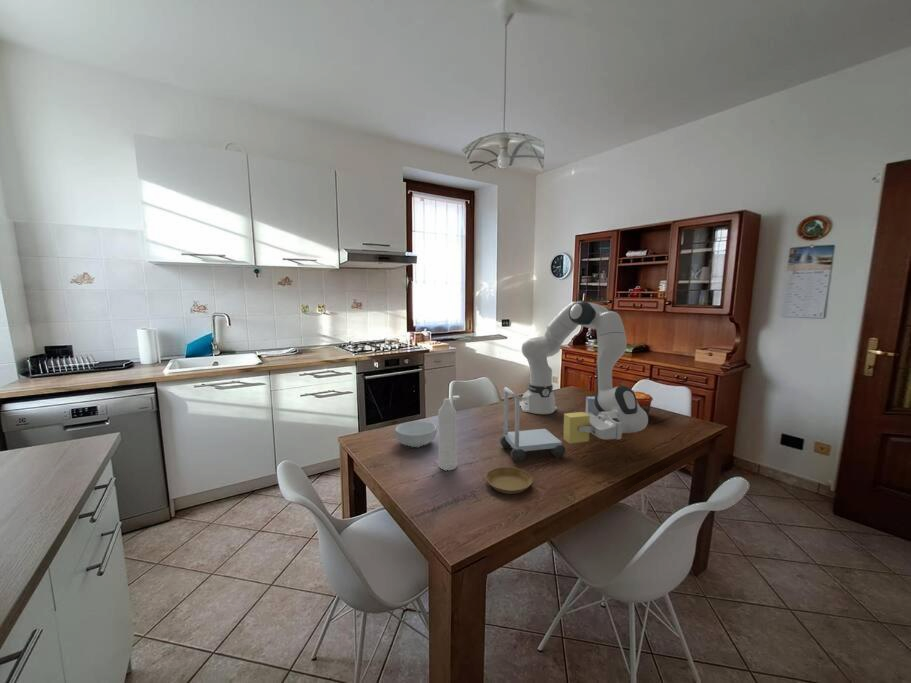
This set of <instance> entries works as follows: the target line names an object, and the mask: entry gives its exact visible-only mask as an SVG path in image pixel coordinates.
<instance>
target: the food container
mask: <svg viewBox="0 0 911 683" xmlns="http://www.w3.org/2000/svg"><path fill="white" fill-rule="evenodd" d="M633 392H634V393H635V395H636V400H637V402H638V404H639V406H640V407H641V408H642V409H643V410H644V411H645V412H646V414H647V416H648V417H649V415H650V409H651V406H652V401H653V400H654V399H653V396H651V395H650V394H648V393H645V392H642V391H634V390H633Z"/></svg>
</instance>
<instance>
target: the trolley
mask: <svg viewBox="0 0 911 683" xmlns="http://www.w3.org/2000/svg"><path fill="white" fill-rule="evenodd" d="M509 396H511V397H512V398H513V399H514V431H509V428H508V426H509V425H508V424H509ZM520 401H521V396H519V395H518V394H517V393H515V392H514V391H512V390H511V389H510V388H508V387H507V386H504V388H503V435H502V436H501V437H500V440H499V442H500V445H501V446H502V447H503V448H504V449H506V448H508V449H510V448H512V449H511V451H510V456H511V459H513V461H514V462H516V463H520V462H522V461H524V460H525V458H526V452H529V451H531V452H532V451H538V450H549V449H550V453H551V455H553V456H554V457H555V458H558V459H560V458H562V457H564V456H565V454H566V448H565V446H564V445H563V441H562V440H560V439H559V438H557V436H555V435H553V434H552V433H551V432H550V431H549V430H547V429H546V428H538V429H537V428H536V429H528V430H520V410H521V409H520V408H521V407H520Z"/></svg>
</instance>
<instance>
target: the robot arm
mask: <svg viewBox="0 0 911 683" xmlns="http://www.w3.org/2000/svg"><path fill="white" fill-rule="evenodd" d="M578 326H582V327H583V328H589V329H595V331H596V332H595V333H596V338H597V340H596V341H597V357H596V364H595V365H596V366H595V368H596V369H595V371H596V377H595V378H596V392H595V395H594V397H595V400H594V402H595V406H596V408H597V409H598V411H599V412H600V413H599V414H598V415H594V414H592V413H589V412H586V411H584V413H586V414H588V415H589V416H590V423H589V426H578V429H577V430H578V431H579V432H588V433H589V434H592V435H593V436H595V437H597V438H598V439H601V440H621V439H622V435H623V434H630V433H632V434H633V433H637V432H641V431H643V430H644V429H645V428H646V427H647V425H648V423H649V415H648V416H647V414H646V412H645V411H644V410H643V409H642V408H641V407H640V406H639V404H638V402H637V400H636V395H635V393H634V392H635V391H634V390H633V389H632V388H631V387H629V386H627V385H625V384H624V385H619V386H615V387H613V369H614V366H615V364H616V363H617V362H618V361H619V360H620V358H621V357H622V356H624V354H625V353H626V351H627V344H628V342H627V334H626V330H625V326H624V323H623V320H622V318H621V315H620V314H619V313H618V312H616V311H612V310H611V309H609V308H608V307H606V306H603V305H600V304H597V303H595V302H588V301H585V300H577V301H571V302H569V303H568V304H566V305H565V306H564V307H563V308H561V310H560V311H558V313H557V314H556V315H555V316H554V317H553V318H552V319H551V321H549V323H548V324H547V325H546V331H545V332H544V333H543V334H542V335H541V336H537V337H532V338H529V339H527V340H525V341H524V342H523V343H522V346H521V353H522V355H523V357H525V359H526V360H527V362H528V366H529V383H528V390H526V391H525V392H524V393H523V395H522V396H521V400H520V406H521V407H520V408H521V410H522V412H525V413H530V414H531V413H532V414H537V415H549V414H552V413H555V411H556V410H558V407H557V406H556V399H555V398H556V397H555V393H554V392H553V390H554V389H553V388H554V386H553V370H552V367H550V365H549V363H548V358H549V357H553V356H555V355H556V354H558V353H559V352H560V351H561V348H562V345H563V344H564V342H565V341H566V339H567V338H568V337H569V336H570V335H571V333H573V332H574V331H575V330H576V329H577V328H578ZM633 391H634V392H633ZM577 412H578V411H577ZM577 412H576V411H575V412H574V413H577Z"/></svg>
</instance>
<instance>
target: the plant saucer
mask: <svg viewBox="0 0 911 683" xmlns="http://www.w3.org/2000/svg"><path fill="white" fill-rule="evenodd" d="M485 479H486V481H487V483H488V484H489V485H490V486H491V487H492V488H493V489H494V490H495V491H497V492H499V493H502V494H505V495H507V494H509V495H515V494H520V493H522V492H524V491H526V490H527V489H528V488H529V487H530V486H531V485H532V483H533V478H532V476H531V475H530V474H529V473H528V472H527V471H525V470H523V469H520V468H517V467H509V466H508V467H507V466H503V467H496V468H493V469H491V470H489V471H488V472H487V473H486V475H485Z"/></svg>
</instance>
